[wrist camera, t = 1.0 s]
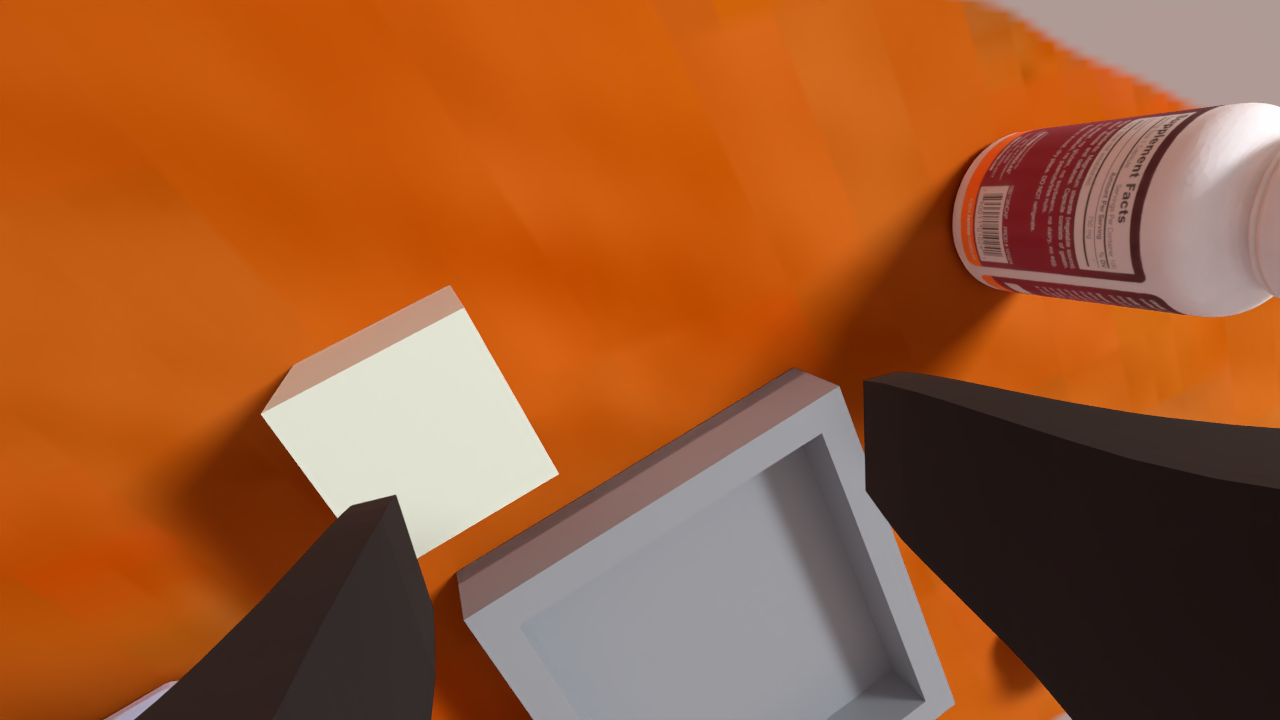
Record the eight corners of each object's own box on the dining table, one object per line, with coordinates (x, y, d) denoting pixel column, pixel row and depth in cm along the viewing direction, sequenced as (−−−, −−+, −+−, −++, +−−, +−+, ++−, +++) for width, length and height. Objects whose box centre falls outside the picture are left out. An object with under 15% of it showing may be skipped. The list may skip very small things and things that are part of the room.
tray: (648, 854, 28) (674, 920, 25) (456, 572, 22) (463, 620, 20) (908, 661, 30) (955, 703, 28) (794, 367, 25) (839, 386, 22)
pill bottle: (1086, 206, 28) (1473, 207, 18) (997, 319, 28) (1339, 384, 18) (1016, 95, 26) (1417, 24, 16) (917, 217, 25) (1260, 227, 15)
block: (386, 497, 21) (382, 579, 16) (293, 364, 19) (260, 414, 15) (525, 417, 22) (558, 474, 17) (449, 284, 20) (463, 307, 16)
